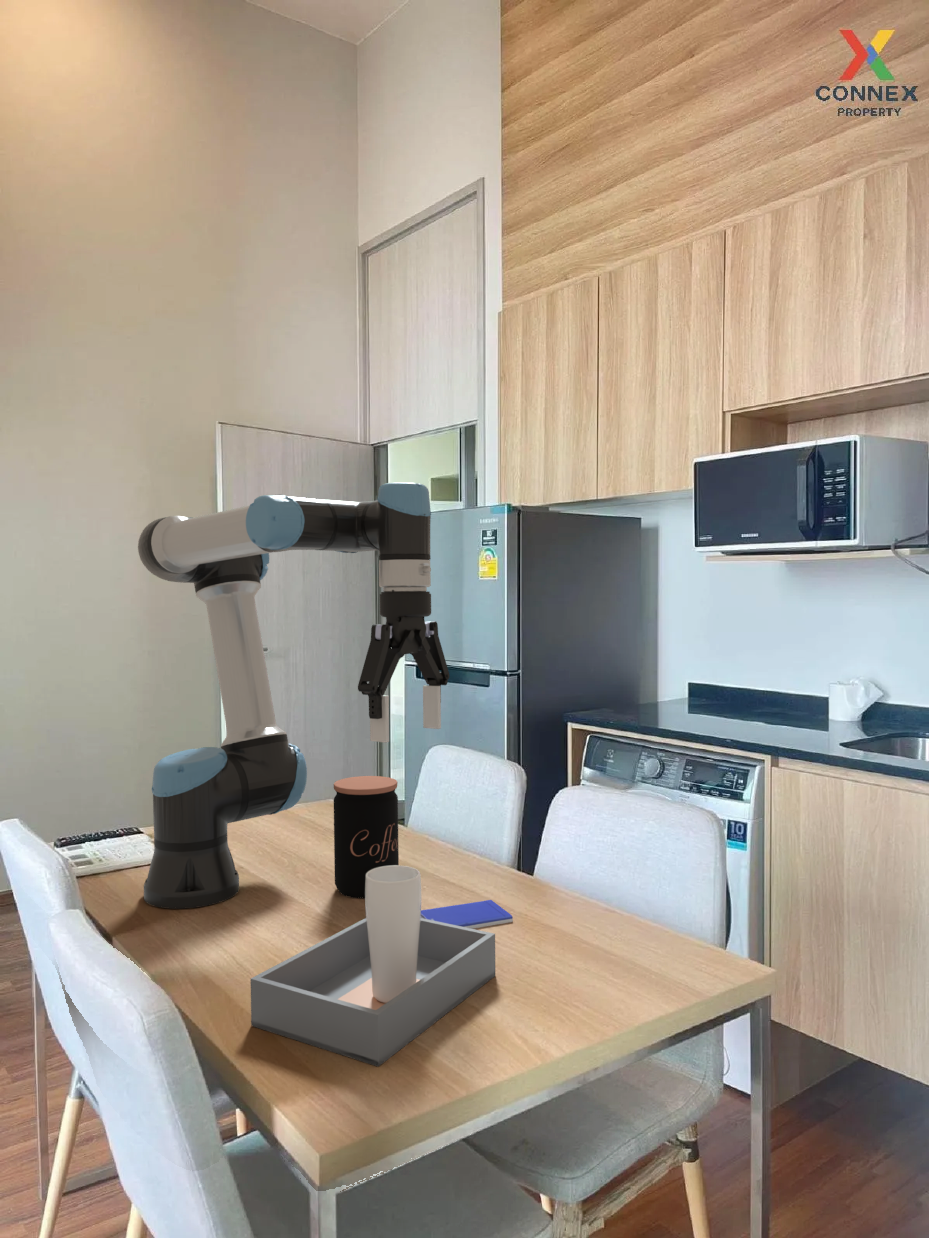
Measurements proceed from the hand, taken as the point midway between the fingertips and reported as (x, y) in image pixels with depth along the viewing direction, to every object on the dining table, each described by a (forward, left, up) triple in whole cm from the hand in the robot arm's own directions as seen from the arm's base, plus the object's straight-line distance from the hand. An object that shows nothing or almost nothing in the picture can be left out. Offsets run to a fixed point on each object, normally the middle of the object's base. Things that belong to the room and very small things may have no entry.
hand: (407, 734), depth 132 cm
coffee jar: (-16, +11, -29) cm, 35 cm away
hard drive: (+5, +7, -29) cm, 31 cm away
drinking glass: (+12, -21, -28) cm, 37 cm away
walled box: (+10, -21, -29) cm, 37 cm away
